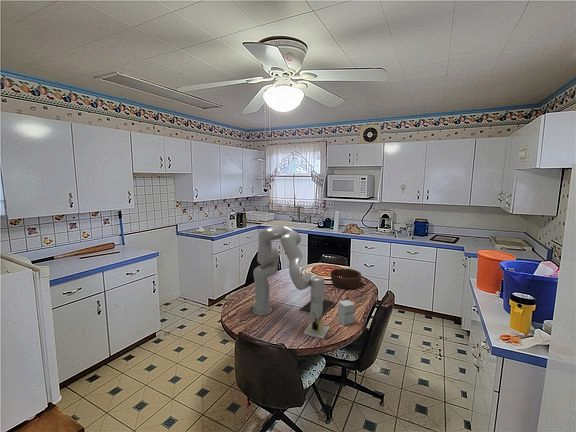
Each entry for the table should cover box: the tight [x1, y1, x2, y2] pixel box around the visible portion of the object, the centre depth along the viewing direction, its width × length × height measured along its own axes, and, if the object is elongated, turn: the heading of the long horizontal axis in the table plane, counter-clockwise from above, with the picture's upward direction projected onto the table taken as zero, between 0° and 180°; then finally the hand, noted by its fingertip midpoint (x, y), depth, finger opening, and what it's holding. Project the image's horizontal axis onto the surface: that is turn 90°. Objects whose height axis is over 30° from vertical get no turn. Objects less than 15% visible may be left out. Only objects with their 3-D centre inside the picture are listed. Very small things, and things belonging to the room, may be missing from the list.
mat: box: [302, 322, 330, 340], centre depth 167 cm, size 12×12×1 cm
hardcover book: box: [298, 298, 336, 318], centre depth 197 cm, size 16×23×2 cm
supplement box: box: [337, 299, 355, 326], centre depth 178 cm, size 7×7×13 cm
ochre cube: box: [310, 318, 323, 331], centre depth 167 cm, size 5×5×5 cm
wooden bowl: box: [330, 267, 362, 290], centre depth 238 cm, size 25×25×10 cm
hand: (316, 327), depth 167 cm, fingers closed on ochre cube, 5 cm apart
